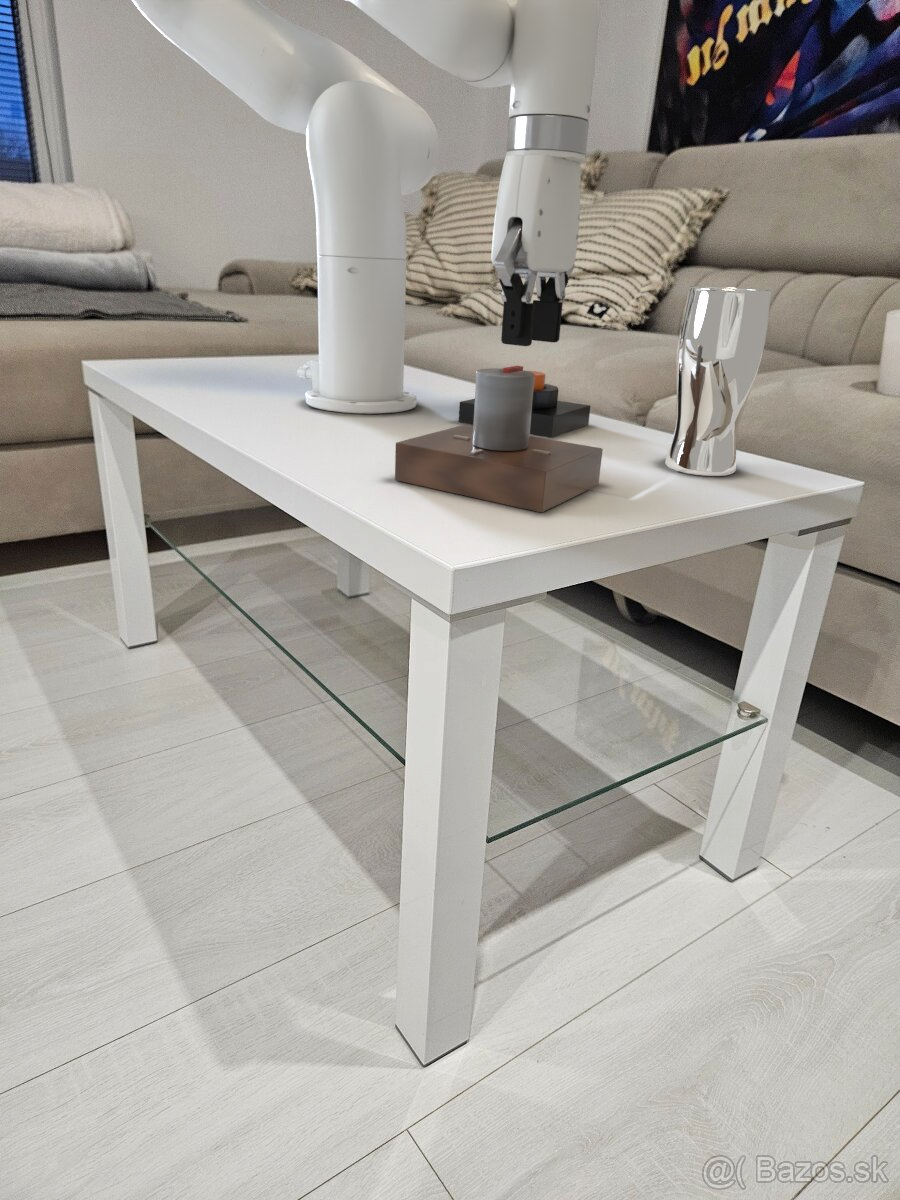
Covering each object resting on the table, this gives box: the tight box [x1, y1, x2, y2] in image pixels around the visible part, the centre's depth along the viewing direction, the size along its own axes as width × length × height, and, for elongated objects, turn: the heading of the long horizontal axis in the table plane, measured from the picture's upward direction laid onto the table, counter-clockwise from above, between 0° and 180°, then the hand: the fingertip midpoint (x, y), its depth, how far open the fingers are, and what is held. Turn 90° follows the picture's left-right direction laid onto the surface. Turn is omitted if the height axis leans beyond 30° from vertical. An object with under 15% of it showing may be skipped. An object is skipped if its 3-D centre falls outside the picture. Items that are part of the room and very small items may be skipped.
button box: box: [458, 383, 591, 439], centre depth 88 cm, size 11×9×4 cm
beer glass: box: [664, 285, 773, 477], centre depth 70 cm, size 7×7×15 cm
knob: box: [472, 365, 535, 451], centre depth 63 cm, size 4×4×6 cm
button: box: [527, 370, 546, 390], centre depth 87 cm, size 4×4×2 cm
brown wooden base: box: [394, 424, 604, 514], centre depth 65 cm, size 13×10×3 cm
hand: (530, 341), depth 85 cm, fingers open, 5 cm apart
